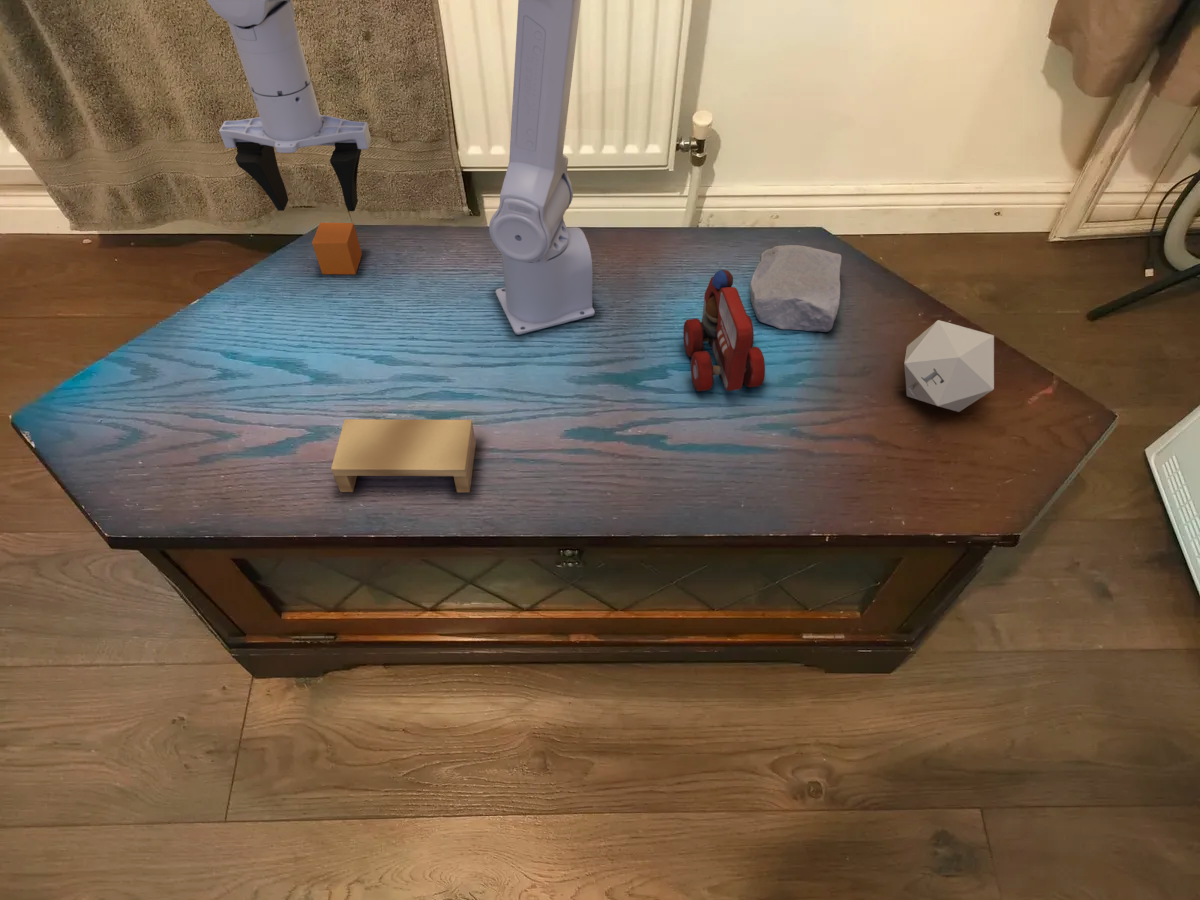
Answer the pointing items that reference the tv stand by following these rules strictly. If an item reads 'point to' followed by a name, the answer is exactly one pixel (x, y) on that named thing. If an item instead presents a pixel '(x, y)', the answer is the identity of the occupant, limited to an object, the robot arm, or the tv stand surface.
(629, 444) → the tv stand surface
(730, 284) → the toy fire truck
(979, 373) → the die
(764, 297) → the stone block
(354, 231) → the orange cube
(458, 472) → the shelf
